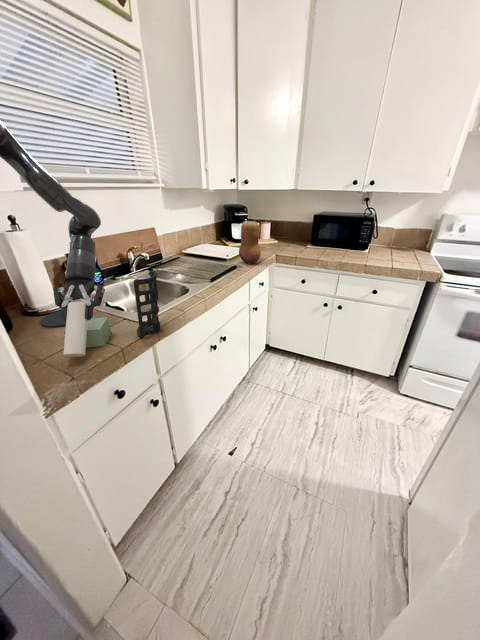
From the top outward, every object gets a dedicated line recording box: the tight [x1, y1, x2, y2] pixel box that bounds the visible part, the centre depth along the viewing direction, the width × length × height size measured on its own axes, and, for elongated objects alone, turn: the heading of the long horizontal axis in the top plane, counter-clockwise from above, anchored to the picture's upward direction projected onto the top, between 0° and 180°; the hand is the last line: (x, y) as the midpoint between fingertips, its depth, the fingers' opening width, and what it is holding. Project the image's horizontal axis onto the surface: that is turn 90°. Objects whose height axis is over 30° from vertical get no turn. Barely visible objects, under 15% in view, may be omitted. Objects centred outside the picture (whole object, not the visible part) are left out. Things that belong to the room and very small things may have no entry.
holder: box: [133, 270, 161, 339], centre depth 85 cm, size 11×8×20 cm
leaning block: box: [63, 317, 113, 348], centre depth 82 cm, size 10×8×6 cm
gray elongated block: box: [62, 301, 88, 358], centre depth 74 cm, size 5×14×14 cm, turn 9°
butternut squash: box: [238, 220, 262, 265], centre depth 158 cm, size 14×13×25 cm
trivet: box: [40, 310, 66, 329], centre depth 97 cm, size 14×14×1 cm
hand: (77, 319), depth 75 cm, fingers closed on gray elongated block, 5 cm apart
